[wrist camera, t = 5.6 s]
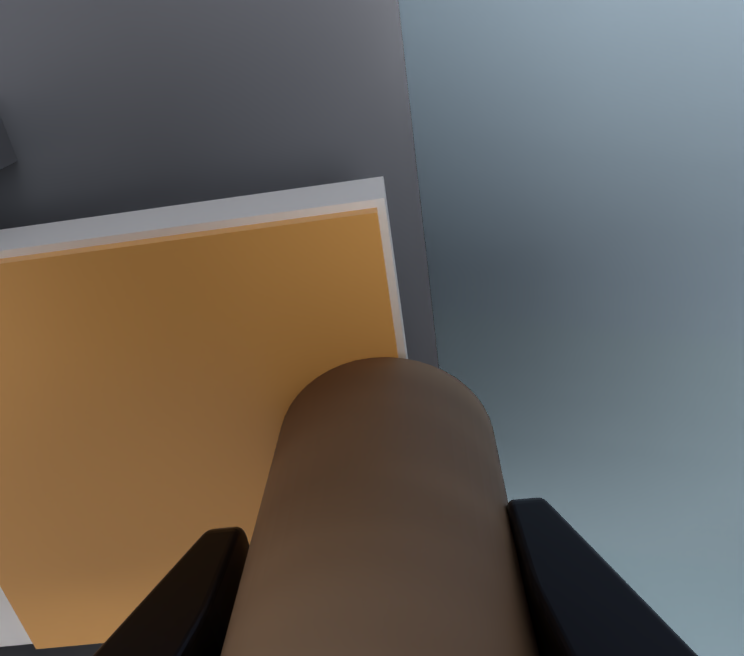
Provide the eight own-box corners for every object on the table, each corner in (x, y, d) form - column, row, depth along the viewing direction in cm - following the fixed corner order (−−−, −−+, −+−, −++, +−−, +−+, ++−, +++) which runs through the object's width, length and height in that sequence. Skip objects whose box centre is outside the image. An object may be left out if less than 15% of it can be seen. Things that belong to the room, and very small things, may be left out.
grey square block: (375, -157, 12) (372, -341, 5) (450, 502, 19) (490, 788, 13) (-413, -19, 13) (-1269, -22, 6) (-62, 555, 21) (-285, 844, 14)
